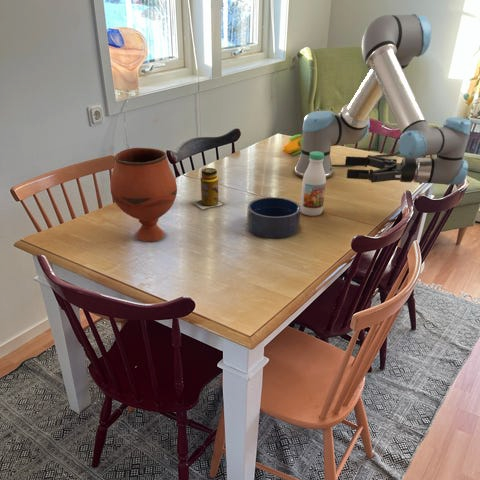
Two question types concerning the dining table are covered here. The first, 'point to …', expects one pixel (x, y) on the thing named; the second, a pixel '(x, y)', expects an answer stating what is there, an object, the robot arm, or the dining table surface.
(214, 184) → the condiment
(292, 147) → the corn
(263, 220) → the pot
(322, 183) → the milk bottle
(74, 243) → the dining table surface
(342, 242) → the dining table surface
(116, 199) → the goblet
